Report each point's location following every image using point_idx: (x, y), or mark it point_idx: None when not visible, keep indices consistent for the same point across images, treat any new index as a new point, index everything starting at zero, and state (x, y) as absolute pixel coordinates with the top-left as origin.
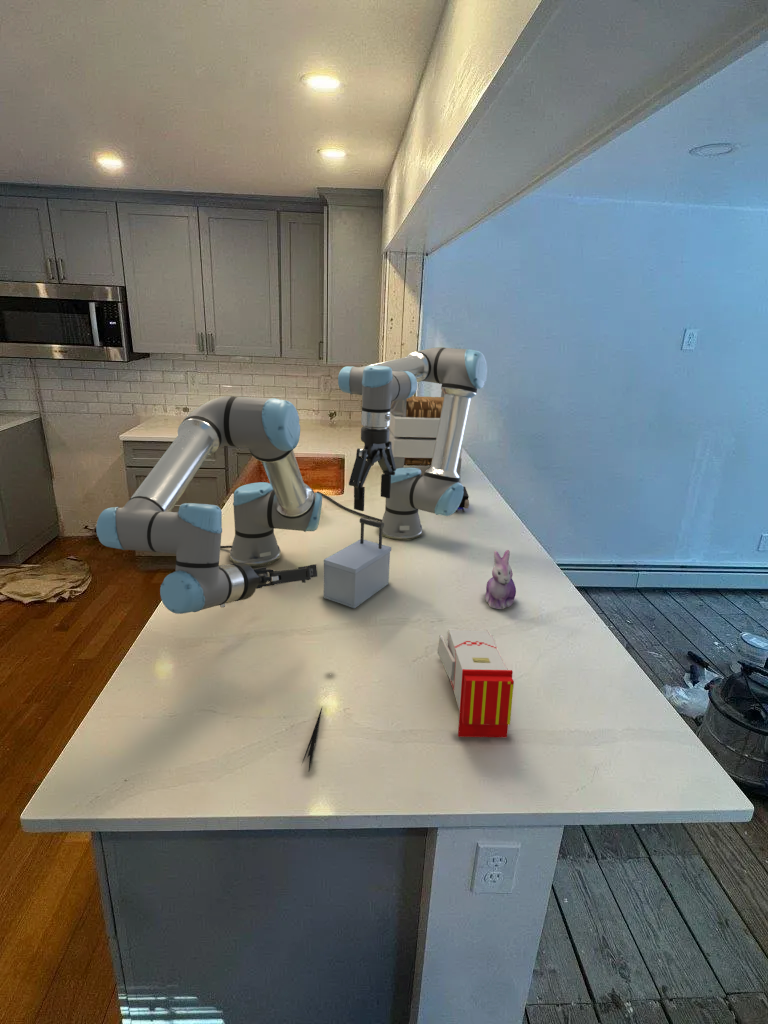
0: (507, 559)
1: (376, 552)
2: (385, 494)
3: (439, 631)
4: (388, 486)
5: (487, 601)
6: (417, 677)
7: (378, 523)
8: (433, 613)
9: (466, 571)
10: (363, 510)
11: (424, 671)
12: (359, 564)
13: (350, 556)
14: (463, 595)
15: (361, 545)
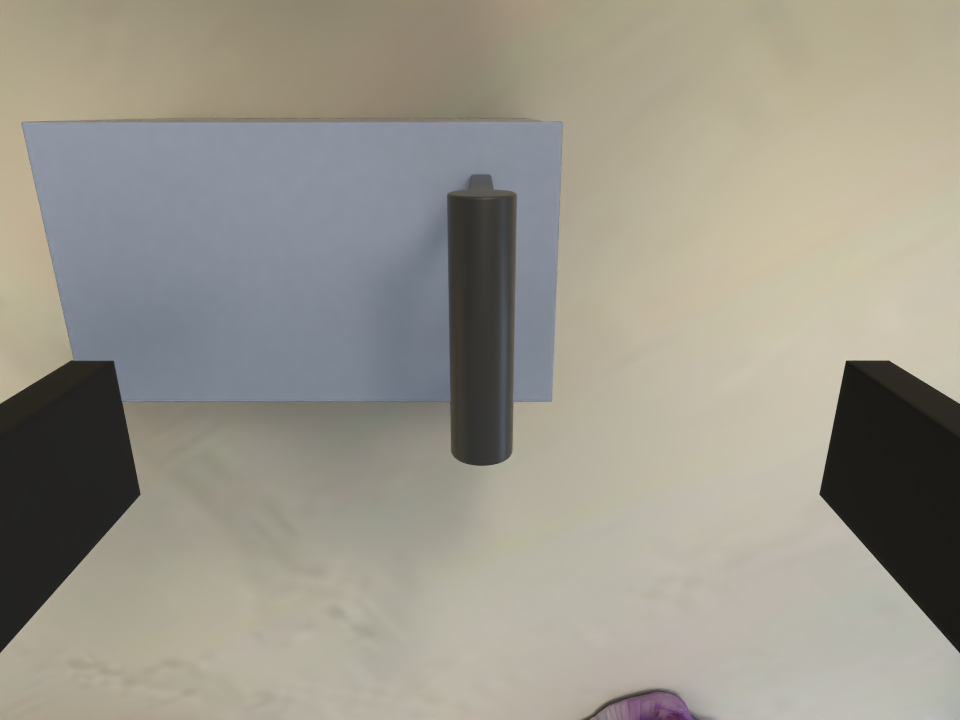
0: None
1: (402, 368)
2: (856, 466)
3: (293, 656)
4: (938, 612)
5: (598, 717)
6: (13, 704)
7: (458, 429)
8: (397, 592)
9: (858, 551)
10: (129, 494)
11: (55, 707)
12: (158, 381)
13: (214, 258)
14: (612, 623)
15: (440, 208)
